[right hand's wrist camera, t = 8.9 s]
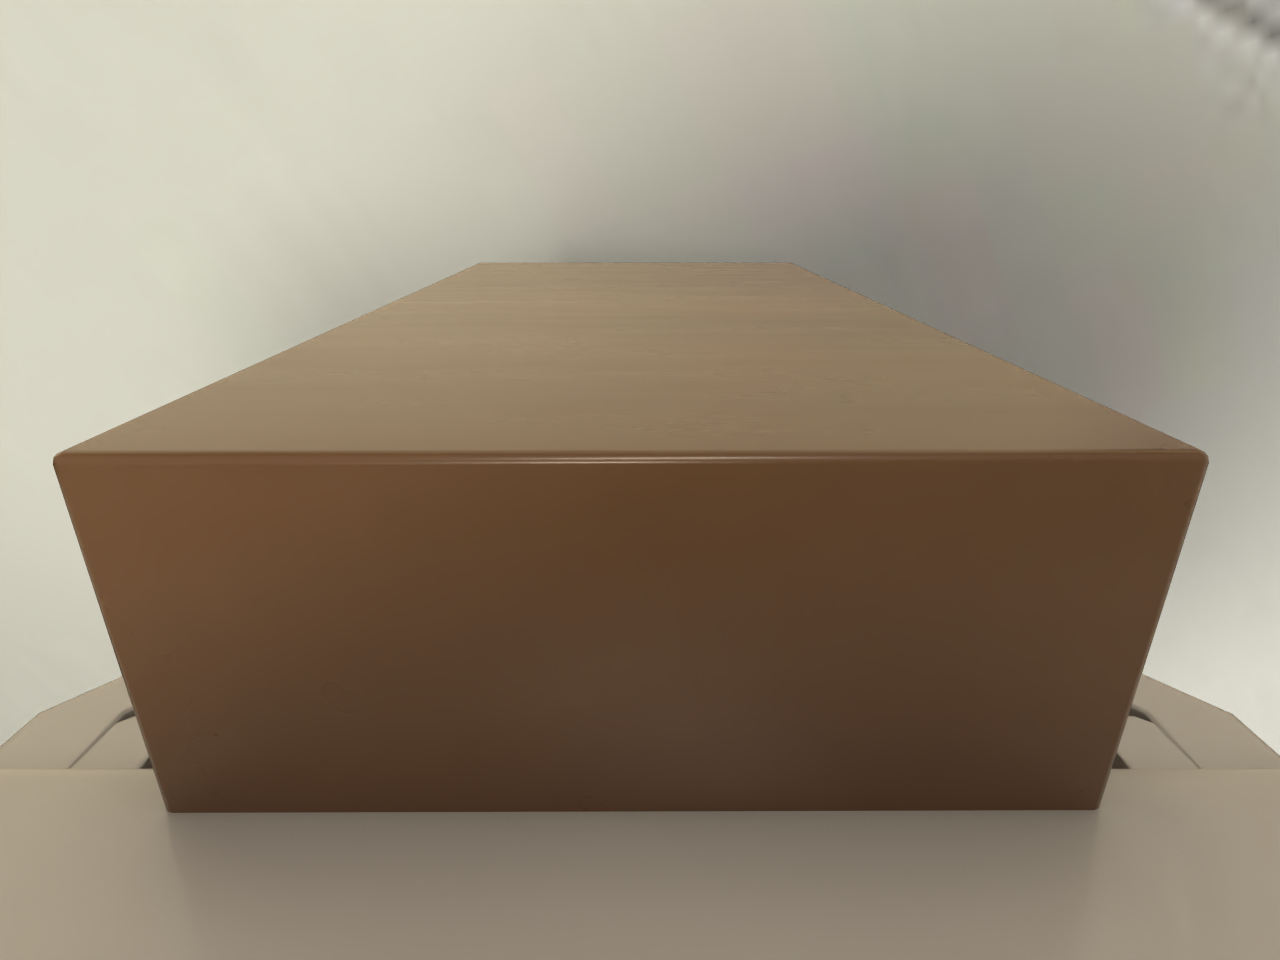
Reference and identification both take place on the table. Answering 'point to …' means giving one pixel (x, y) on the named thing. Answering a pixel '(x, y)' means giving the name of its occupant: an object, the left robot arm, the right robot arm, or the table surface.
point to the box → (631, 558)
